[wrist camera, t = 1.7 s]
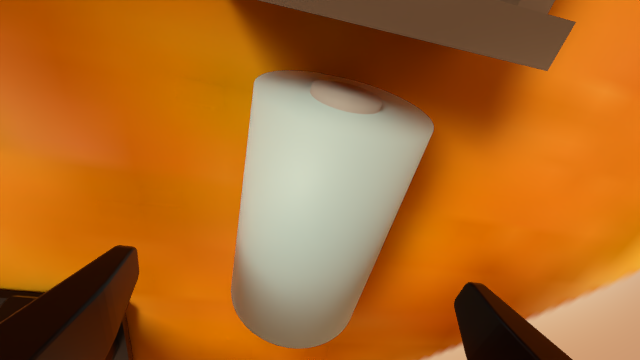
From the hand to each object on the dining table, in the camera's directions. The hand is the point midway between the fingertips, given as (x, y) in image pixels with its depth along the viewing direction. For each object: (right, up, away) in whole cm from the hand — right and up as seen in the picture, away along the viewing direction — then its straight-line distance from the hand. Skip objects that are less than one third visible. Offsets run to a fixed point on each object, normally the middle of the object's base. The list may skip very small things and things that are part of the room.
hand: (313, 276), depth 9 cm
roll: (0, +3, +4) cm, 5 cm away
